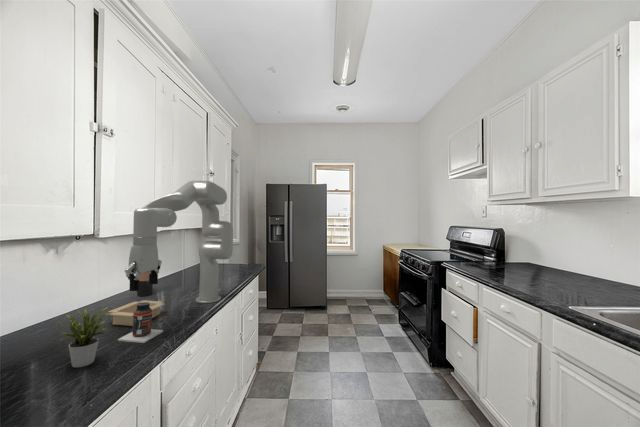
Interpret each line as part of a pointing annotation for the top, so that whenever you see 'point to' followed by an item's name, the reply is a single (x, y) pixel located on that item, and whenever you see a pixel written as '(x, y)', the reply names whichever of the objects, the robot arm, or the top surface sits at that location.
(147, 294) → the travel mug
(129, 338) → the mat
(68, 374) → the top surface
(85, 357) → the house plant
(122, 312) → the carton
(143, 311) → the supplement bottle
